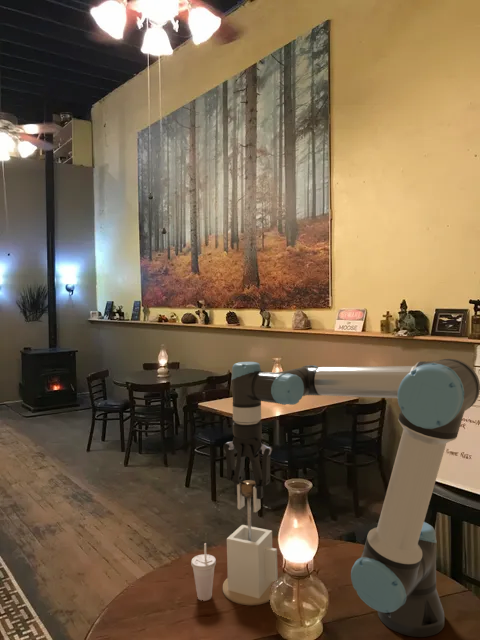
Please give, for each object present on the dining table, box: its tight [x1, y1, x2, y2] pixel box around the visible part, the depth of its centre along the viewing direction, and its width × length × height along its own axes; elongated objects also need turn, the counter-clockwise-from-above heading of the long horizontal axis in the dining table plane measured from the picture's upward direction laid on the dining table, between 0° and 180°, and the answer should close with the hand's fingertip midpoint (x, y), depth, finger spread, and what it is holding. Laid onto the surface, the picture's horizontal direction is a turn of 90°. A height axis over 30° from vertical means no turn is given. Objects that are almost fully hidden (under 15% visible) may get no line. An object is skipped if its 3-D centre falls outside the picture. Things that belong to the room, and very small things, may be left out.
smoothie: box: [190, 542, 217, 602], centre depth 132 cm, size 6×6×14 cm
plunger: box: [241, 479, 256, 542], centre depth 135 cm, size 6×6×22 cm
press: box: [222, 524, 279, 606], centre depth 136 cm, size 15×15×15 cm
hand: (249, 508), depth 135 cm, fingers closed on plunger, 4 cm apart
